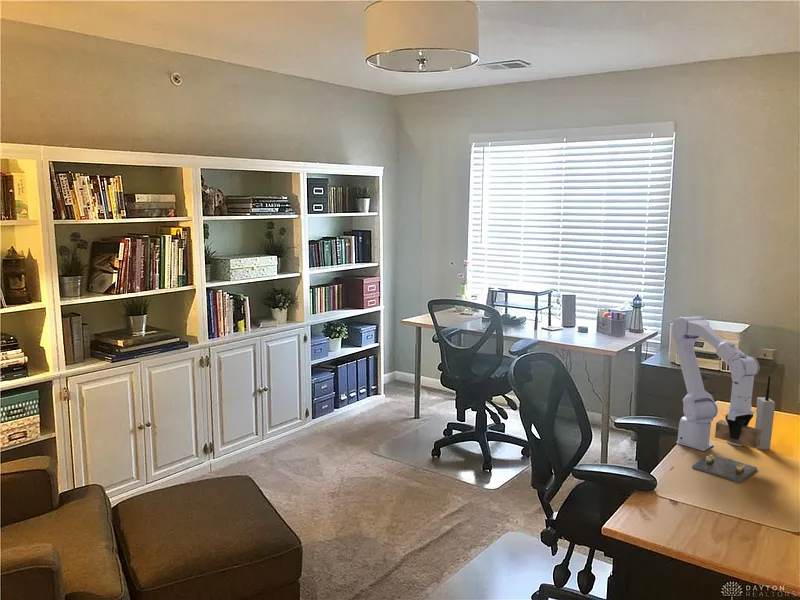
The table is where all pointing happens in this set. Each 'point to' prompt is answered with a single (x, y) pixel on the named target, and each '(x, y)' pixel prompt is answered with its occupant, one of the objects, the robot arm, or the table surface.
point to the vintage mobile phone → (765, 418)
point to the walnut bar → (747, 434)
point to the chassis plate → (724, 468)
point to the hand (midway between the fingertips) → (737, 436)
